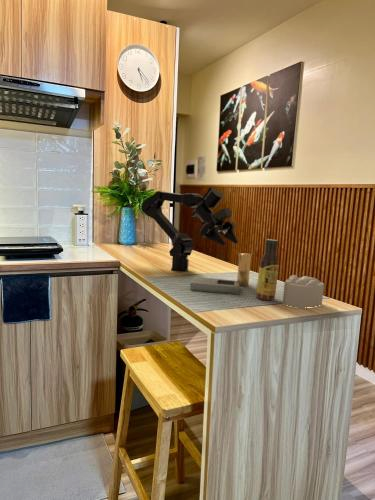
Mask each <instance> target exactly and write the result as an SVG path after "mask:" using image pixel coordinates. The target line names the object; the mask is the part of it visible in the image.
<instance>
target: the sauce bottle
mask: <svg viewBox="0 0 375 500" xmlns="http://www.w3.org/2000/svg"><path fill="white" fill-rule="evenodd" d="M264 243H265V249H264V254H262V256H261V258H260V261H259V267H258V268H259V269H258V275H257V283H256V296H255V297H256V298H257V299H259V300H263V301H272V300H275V295H276V291H277V284H278V283H277V282H278V275H279V268H280V265H279V261H278V255H277V250H278V244H279V240H278V239H271V238H266V239H265V242H264Z"/></svg>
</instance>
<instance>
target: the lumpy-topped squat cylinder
mask: <svg viewBox="0 0 375 500" xmlns="http://www.w3.org/2000/svg"><path fill="white" fill-rule="evenodd" d="M283 285H284V286H283V294H282V295H283V296H282V304H283V303H284V304H285V305H284V304H283V305H284V306H286V305H288V306H292V307H291V308H293V307H300V308H299V309H303V308H305V307H306V308H307V307H315V306H319V305H322V304H323V297H324V288H325V283H323V282H322V281H320V280H319V279H318V278H315V277H310V276H308V275H307V276H306V275H304V276H301V277H298V276H297V274H293V275H290V276H289V278H287V279H286V280H285V281H284V284H283ZM288 306H287V307H288Z"/></svg>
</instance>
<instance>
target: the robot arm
mask: <svg viewBox="0 0 375 500" xmlns="http://www.w3.org/2000/svg"><path fill="white" fill-rule="evenodd" d="M223 198H224V195H223V193H222V192H221V191H219V190H217V189H215V188H214V187H213V186H210V187H209V188H208V190H207V191H206V192H205V194H204V195H201V194H200V193H192V192H191V193H190V192H189V193H177V192H176V193H175V192H169V191H165V190H157V191H155V192H154V193H153V194H152V195H151V196H149V197H147V198H146V199H145V200H143V201H142V203H141V205H140V209H141V212H143V214H145V216H147V217H149V218H151V219H153V220H154V222H155V223H157V225H158V226H159V228H161V229H162V231H163V232H164V233H165V235H167V237H168V238H169V239H170V240H171V245H172V248H171V249H170V250H169V256H171V257H172V260H171V261H172V262H171V267H170V268H171V269H170V270H171V271H180V272H186V271H187V270H188V269H189V266H190V265H189V264H190V263H189V261H190V259H189V258H188V257H190V256H191V254H192V252H193V250H194V246H195V244H194V242H193V239H192V238H191V237H190V235H189V234H187V233H180V231H179V230H178V229H177V228H176V227H175V226H174V225H173V223H172V222H171V221H170V220H169V219H168V217H166V215H165V214H164V213H163V208H162V207H163V205H164V203H165V201H167V202H174V203H179V204H181V205H182V206H184V207H187V208H195V209H193V210H192V209H191V217H192V218H193V217H198V218H199V220H200V221H201V225H203V226H202V227H201V228H200V230H199V235H200V236H201V237H202V238H205V239H208V240H211V242H212V241H213V242H215V243H217V244H220V245H222V246H225V245H226V242H225V240H224V239H223V237H224V238H226V239H227V240H229V241H230V242H232V243H234V244H238V243H239V242H238V239H237V236H236V234H235V228H236V226H237V224H236V223H235V222H234V220H233V221H226V219H228V218H231V217H232V211H233V210H231V208H228V207H225V208H221V209H220V210H218V211H217V212H214V211H213V210H212V209H216V207H217V206H218V204H219V203H220V202H221V201H222V199H223ZM221 235H223V237H222V236H221Z"/></svg>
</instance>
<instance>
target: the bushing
mask: <svg viewBox="0 0 375 500" xmlns="http://www.w3.org/2000/svg"><path fill="white" fill-rule="evenodd" d="M251 261H252V254H251V253H248V252H247V253H246V252H245V253H244V252H242V253H241V252H240V253H239V254H238V265H237V266H238V267H237V278H236V281H240V287H244V288H245V287H249V283H250V271H251Z"/></svg>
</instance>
